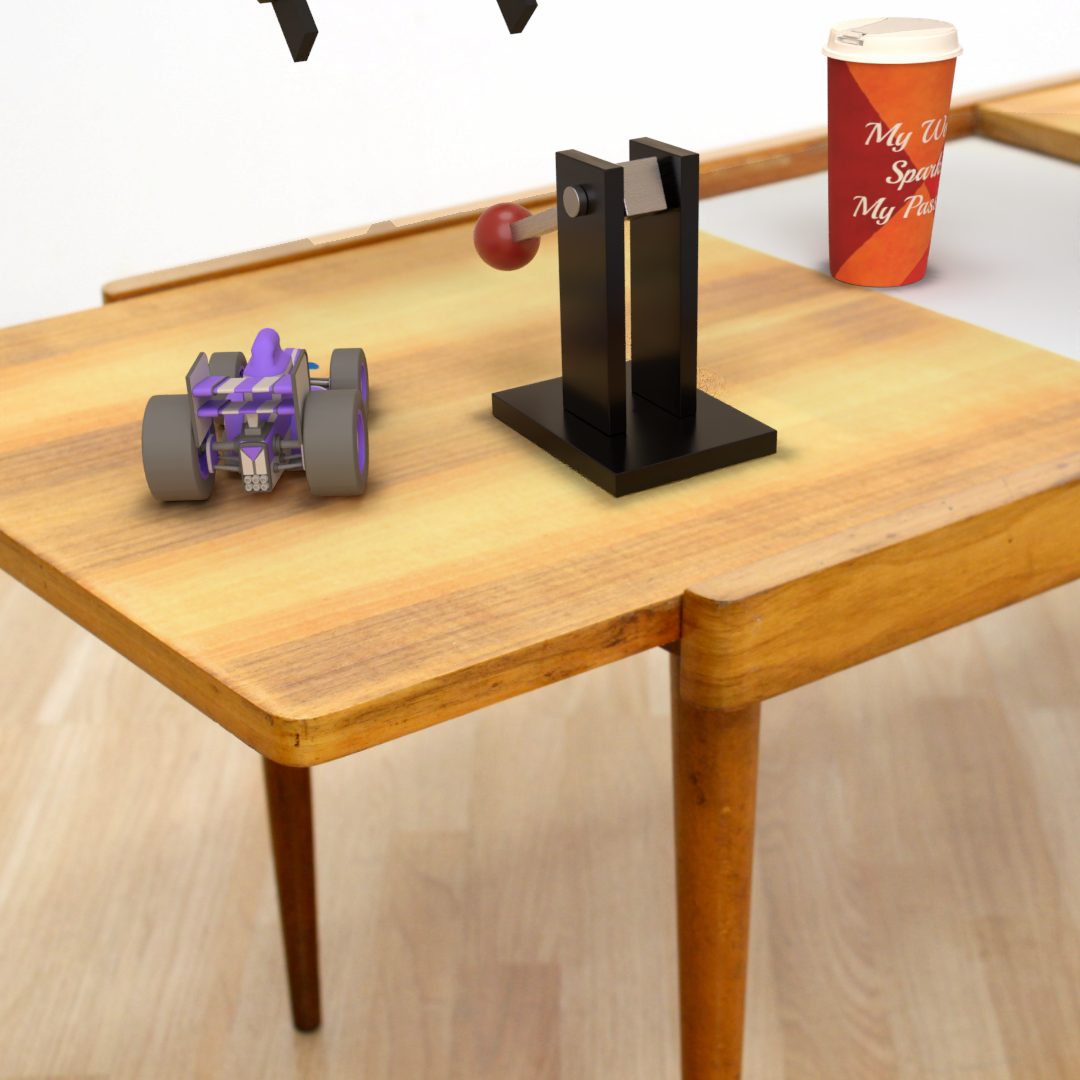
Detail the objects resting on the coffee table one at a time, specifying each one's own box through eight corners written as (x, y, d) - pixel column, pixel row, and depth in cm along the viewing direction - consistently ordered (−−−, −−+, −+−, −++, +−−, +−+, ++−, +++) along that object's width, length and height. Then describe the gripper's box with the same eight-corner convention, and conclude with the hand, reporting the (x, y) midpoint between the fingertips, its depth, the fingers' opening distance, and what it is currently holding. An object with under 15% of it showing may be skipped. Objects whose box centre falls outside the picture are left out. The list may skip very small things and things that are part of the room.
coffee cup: (876, 301, 93) (893, 42, 86) (784, 269, 99) (793, 26, 93) (973, 274, 97) (997, 25, 90) (879, 245, 103) (895, 10, 97)
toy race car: (392, 390, 83) (382, 272, 80) (361, 513, 69) (348, 376, 66) (214, 396, 83) (198, 278, 80) (149, 519, 70) (127, 383, 67)
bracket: (492, 414, 79) (477, 142, 73) (640, 378, 83) (638, 117, 77) (616, 498, 70) (611, 194, 64) (777, 453, 74) (787, 162, 67)
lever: (470, 280, 84) (456, 214, 83) (529, 269, 85) (514, 204, 85) (616, 232, 69) (599, 151, 69) (683, 219, 71) (667, 140, 70)
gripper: (460, -242, 99) (581, 46, 95) (72, -227, 88) (193, 99, 84) (500, -336, 92) (632, -30, 89) (86, -333, 81) (219, 17, 78)
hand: (419, 34), depth 87 cm, fingers open, 13 cm apart
